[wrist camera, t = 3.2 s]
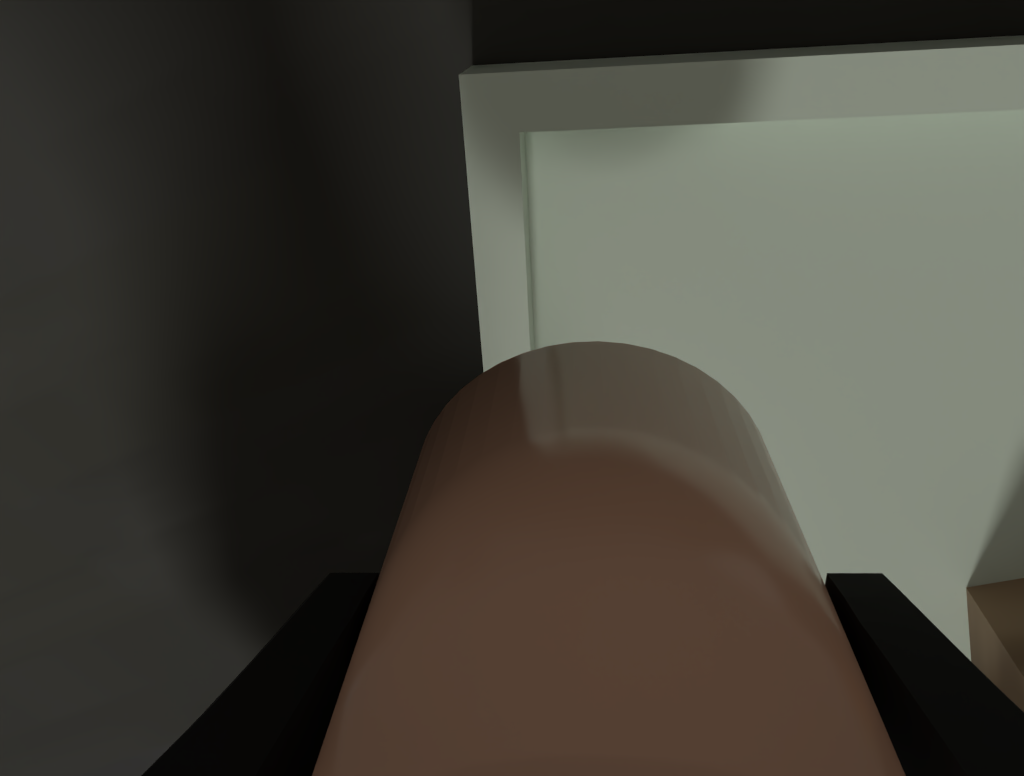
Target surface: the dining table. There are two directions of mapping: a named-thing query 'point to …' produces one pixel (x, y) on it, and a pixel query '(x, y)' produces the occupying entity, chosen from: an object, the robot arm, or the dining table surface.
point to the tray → (790, 270)
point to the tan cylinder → (601, 593)
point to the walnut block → (999, 634)
